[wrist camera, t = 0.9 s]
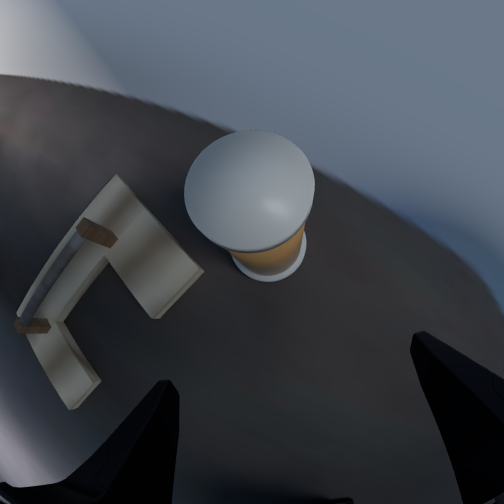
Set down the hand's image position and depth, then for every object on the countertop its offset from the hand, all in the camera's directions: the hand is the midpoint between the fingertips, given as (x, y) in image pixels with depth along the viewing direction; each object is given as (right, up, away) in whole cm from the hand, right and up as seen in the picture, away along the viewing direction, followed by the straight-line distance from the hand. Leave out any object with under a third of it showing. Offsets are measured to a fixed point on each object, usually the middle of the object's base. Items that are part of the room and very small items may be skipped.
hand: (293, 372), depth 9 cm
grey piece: (-18, -1, +16) cm, 24 cm away
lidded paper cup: (0, +5, +15) cm, 15 cm away
